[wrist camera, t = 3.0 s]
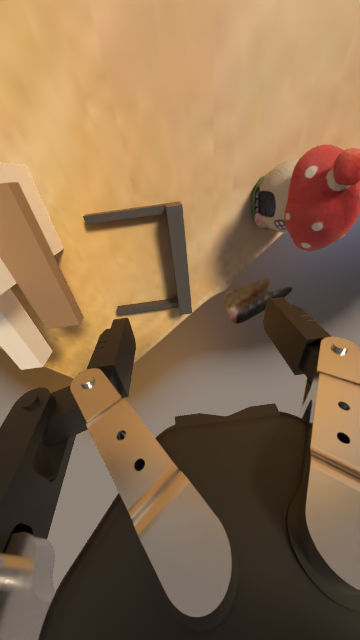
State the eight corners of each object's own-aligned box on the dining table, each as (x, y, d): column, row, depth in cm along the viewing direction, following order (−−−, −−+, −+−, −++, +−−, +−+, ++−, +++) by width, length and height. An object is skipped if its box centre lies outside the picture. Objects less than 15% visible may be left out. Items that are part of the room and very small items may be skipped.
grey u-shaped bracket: (119, 310, 37) (115, 323, 34) (86, 214, 28) (76, 219, 24) (189, 301, 37) (192, 313, 34) (179, 201, 28) (182, 205, 24)
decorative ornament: (254, 157, 25) (339, 139, 13) (305, 150, 25) (438, 126, 13) (247, 234, 31) (303, 272, 19) (289, 229, 31) (373, 263, 19)
